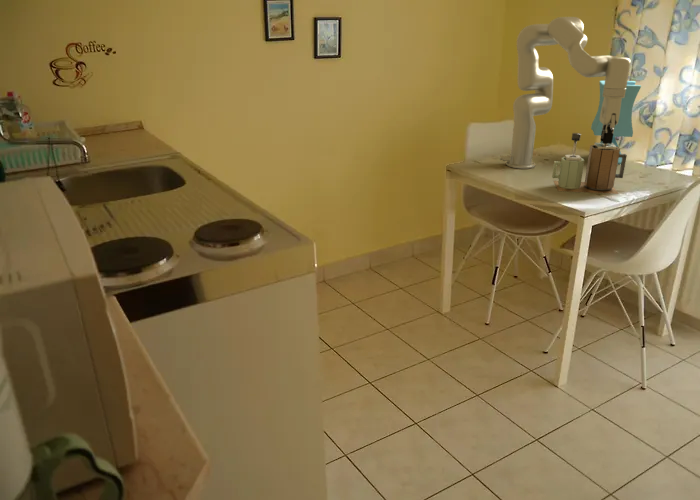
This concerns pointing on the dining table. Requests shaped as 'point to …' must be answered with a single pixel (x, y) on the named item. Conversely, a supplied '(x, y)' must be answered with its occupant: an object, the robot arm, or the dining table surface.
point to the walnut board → (584, 189)
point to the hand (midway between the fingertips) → (605, 141)
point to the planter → (625, 115)
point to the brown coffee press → (603, 167)
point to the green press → (569, 171)
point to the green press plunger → (575, 141)
